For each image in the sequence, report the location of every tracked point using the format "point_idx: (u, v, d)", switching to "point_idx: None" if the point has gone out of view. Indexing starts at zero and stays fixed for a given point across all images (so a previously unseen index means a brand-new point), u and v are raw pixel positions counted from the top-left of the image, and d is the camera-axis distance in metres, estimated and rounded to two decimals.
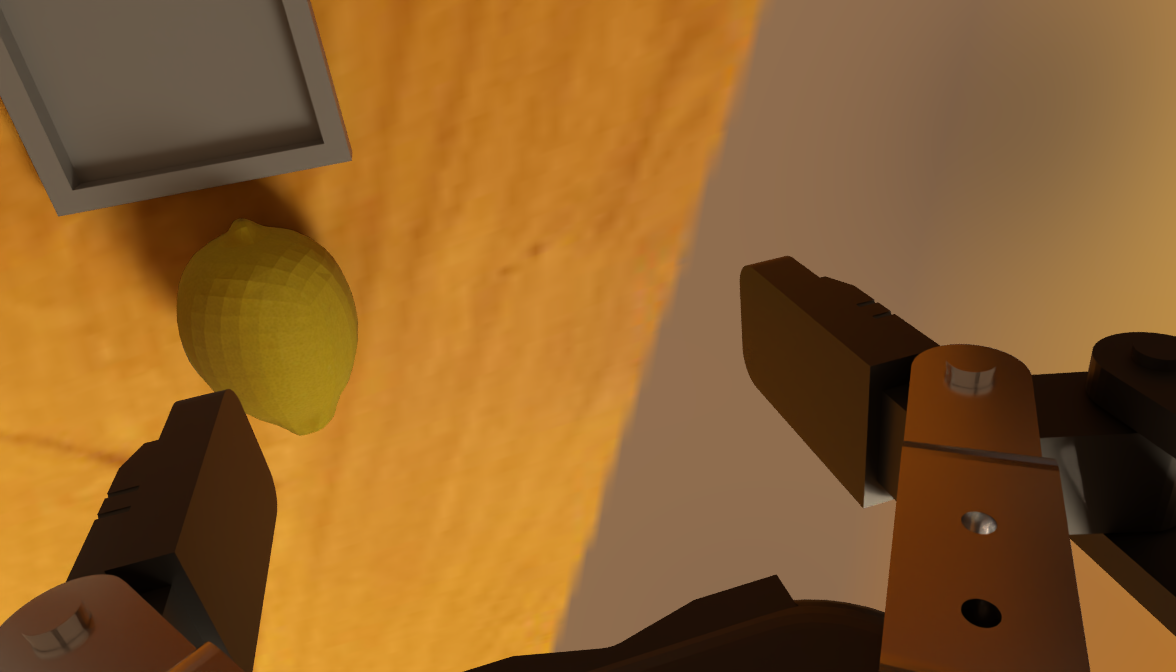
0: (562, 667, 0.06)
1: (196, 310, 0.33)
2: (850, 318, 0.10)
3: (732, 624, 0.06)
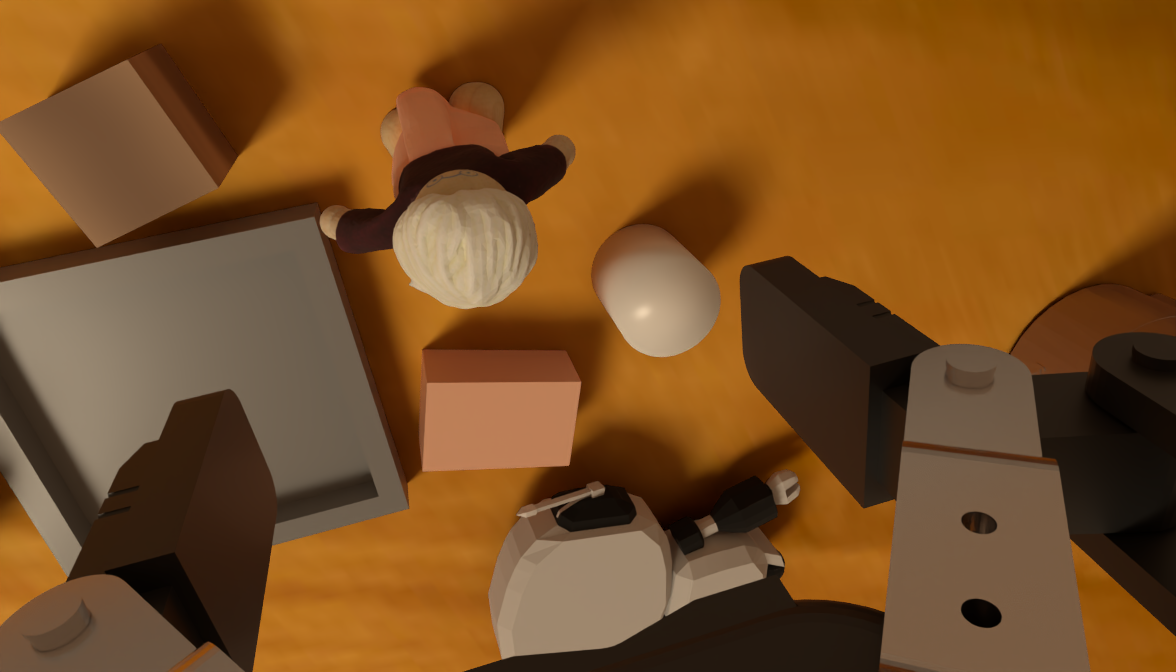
0: (564, 668, 0.06)
1: None
2: (850, 318, 0.10)
3: (732, 624, 0.06)
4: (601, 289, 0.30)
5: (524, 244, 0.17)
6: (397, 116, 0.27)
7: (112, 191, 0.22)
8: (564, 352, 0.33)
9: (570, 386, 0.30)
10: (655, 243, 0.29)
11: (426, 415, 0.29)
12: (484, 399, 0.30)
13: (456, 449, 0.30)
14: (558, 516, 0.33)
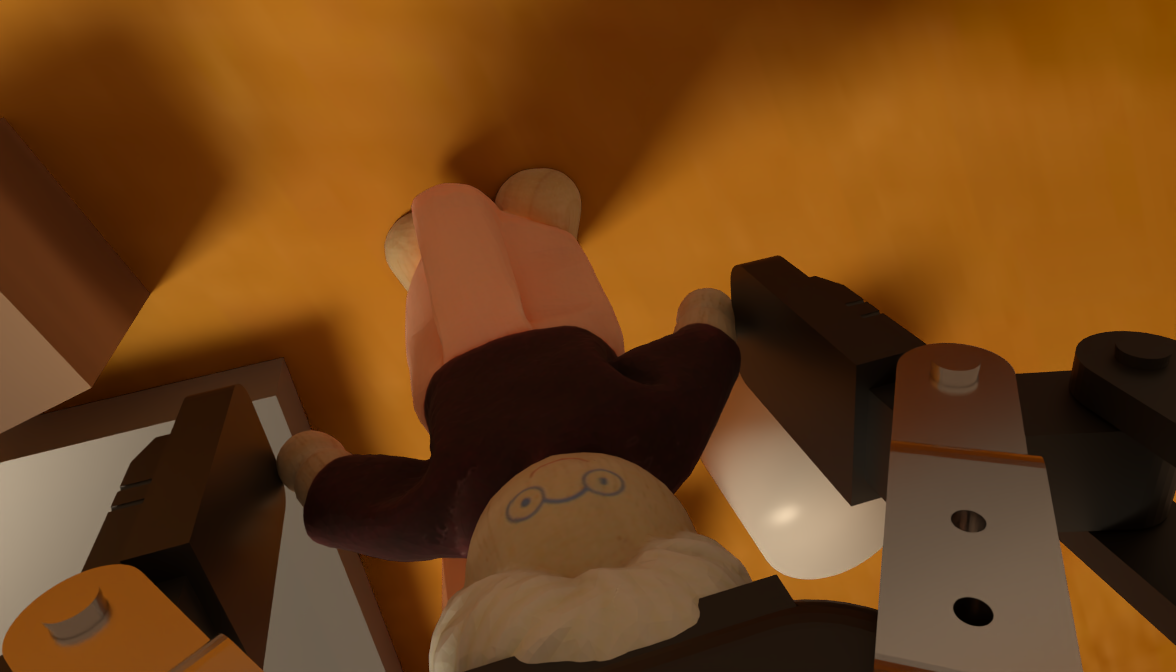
0: (564, 667, 0.06)
1: None
2: (838, 317, 0.10)
3: (732, 624, 0.06)
4: (719, 468, 0.20)
5: None
6: (412, 227, 0.16)
7: None
8: None
9: None
10: None
11: None
12: None
13: None
14: None
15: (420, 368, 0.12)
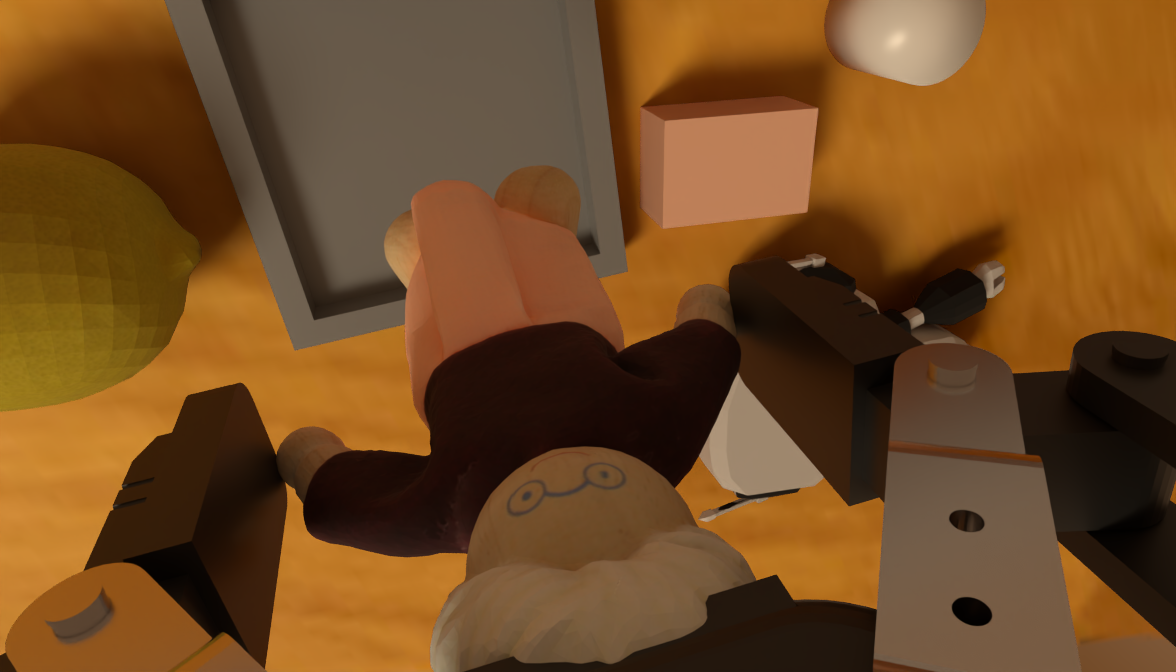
0: (562, 667, 0.06)
1: (37, 224, 0.20)
2: (836, 317, 0.10)
3: (732, 624, 0.06)
4: (847, 21, 0.29)
5: None
6: (412, 224, 0.16)
7: None
8: (783, 96, 0.31)
9: (807, 114, 0.28)
10: None
11: (665, 160, 0.28)
12: (721, 137, 0.28)
13: (695, 199, 0.29)
14: None
15: (420, 364, 0.12)
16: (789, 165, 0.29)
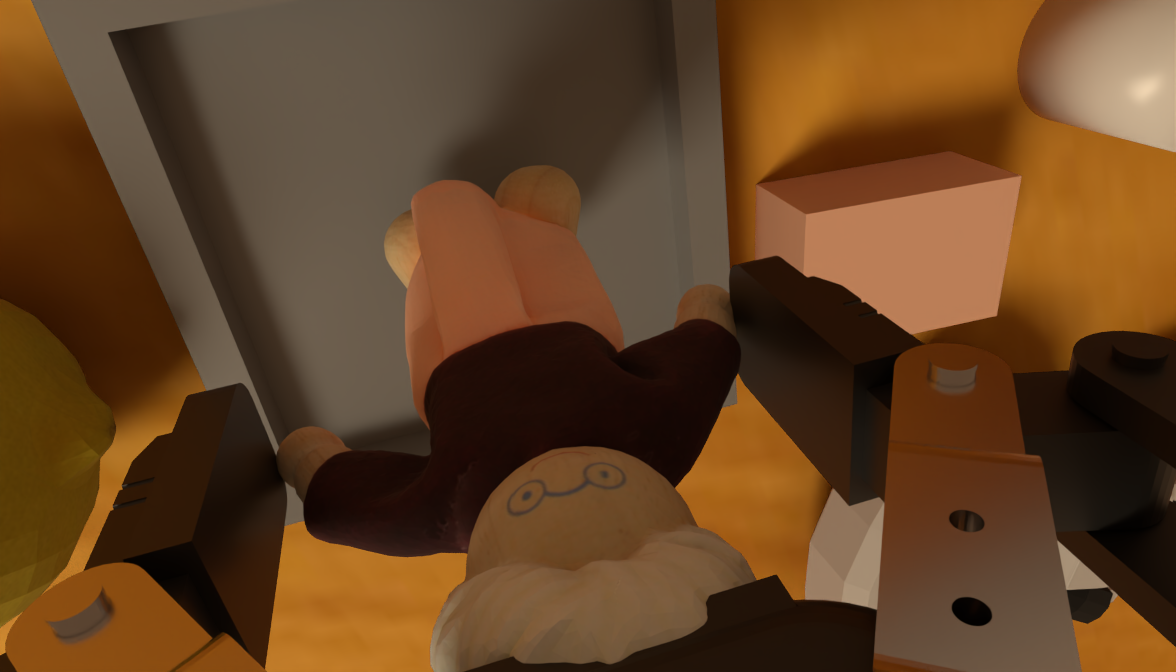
0: (564, 667, 0.06)
1: None
2: (836, 317, 0.10)
3: (732, 624, 0.06)
4: (1065, 57, 0.20)
5: None
6: (412, 224, 0.16)
7: None
8: (951, 153, 0.22)
9: (1005, 186, 0.20)
10: None
11: (805, 268, 0.19)
12: (885, 228, 0.19)
13: None
14: None
15: (420, 364, 0.12)
16: (976, 257, 0.20)
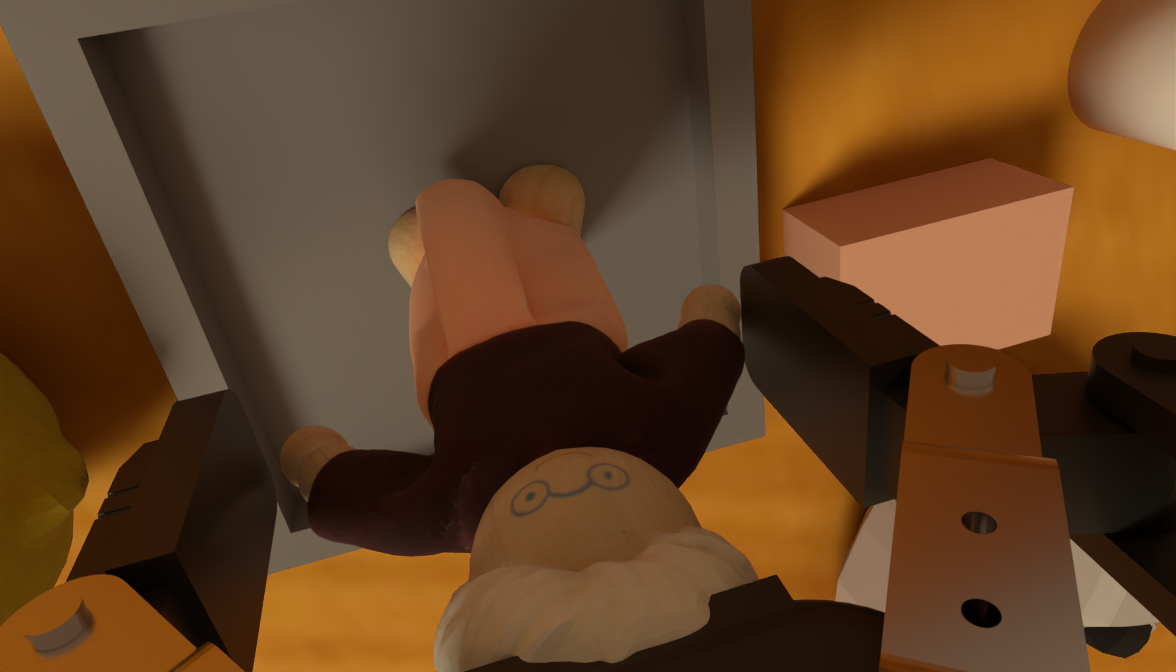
0: (564, 669, 0.06)
1: None
2: (850, 318, 0.10)
3: (732, 624, 0.06)
4: (1124, 65, 0.18)
5: None
6: (416, 223, 0.16)
7: None
8: (993, 160, 0.20)
9: (1057, 199, 0.18)
10: None
11: None
12: (927, 254, 0.18)
13: None
14: None
15: (424, 363, 0.12)
16: (1027, 275, 0.19)
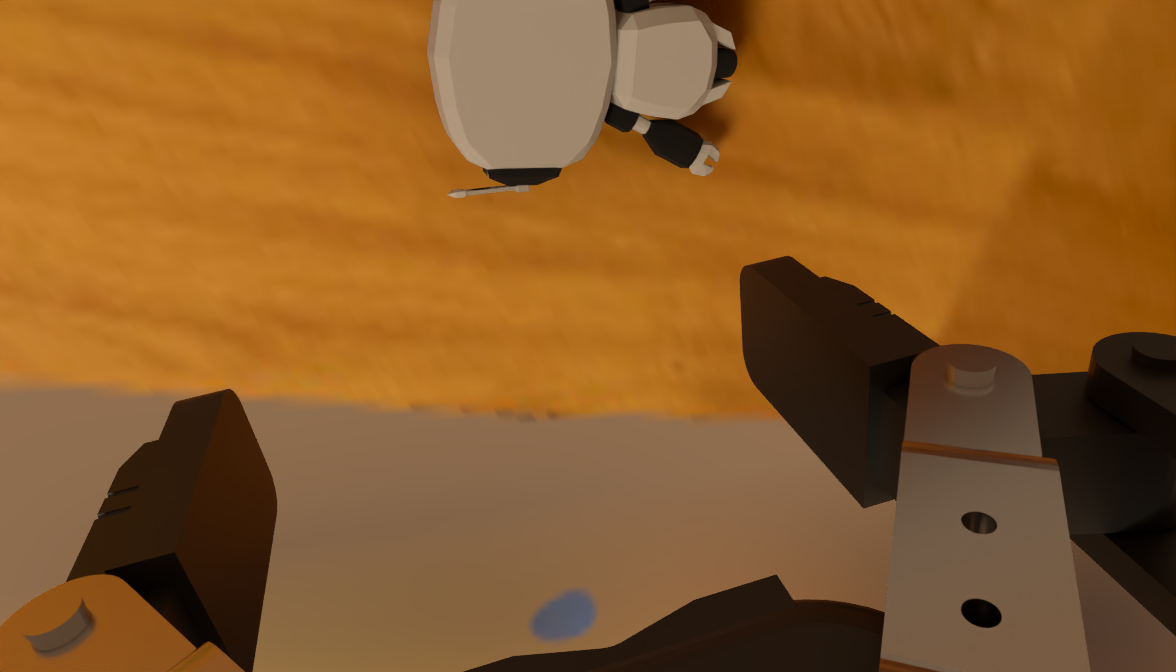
0: (562, 667, 0.06)
1: None
2: (850, 318, 0.10)
3: (732, 624, 0.06)
4: None
5: None
6: None
7: None
8: None
9: None
10: None
11: None
12: None
13: None
14: None
15: None
16: None
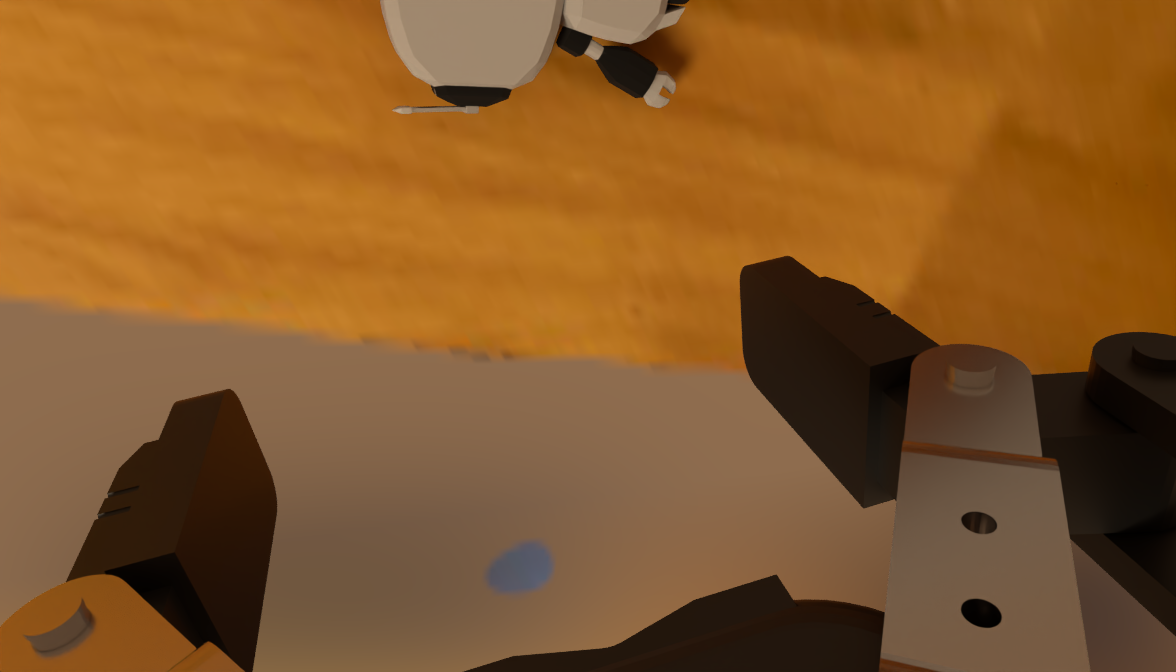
0: (564, 667, 0.06)
1: None
2: (850, 318, 0.10)
3: (732, 624, 0.06)
4: None
5: None
6: None
7: None
8: None
9: None
10: None
11: None
12: None
13: None
14: None
15: None
16: None
